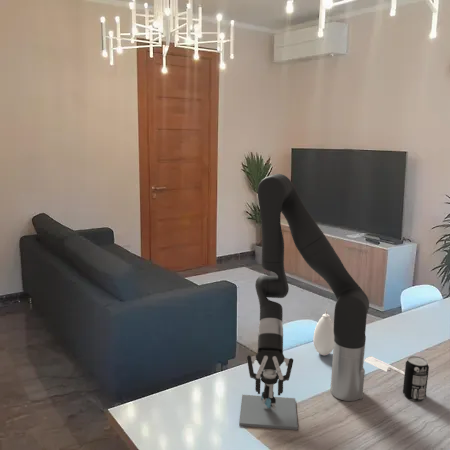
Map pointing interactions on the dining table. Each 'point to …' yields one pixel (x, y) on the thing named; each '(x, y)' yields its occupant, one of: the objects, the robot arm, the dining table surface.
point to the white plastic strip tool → (382, 364)
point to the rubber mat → (268, 413)
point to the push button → (269, 387)
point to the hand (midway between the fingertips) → (269, 393)
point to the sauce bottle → (324, 335)
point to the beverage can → (415, 378)
